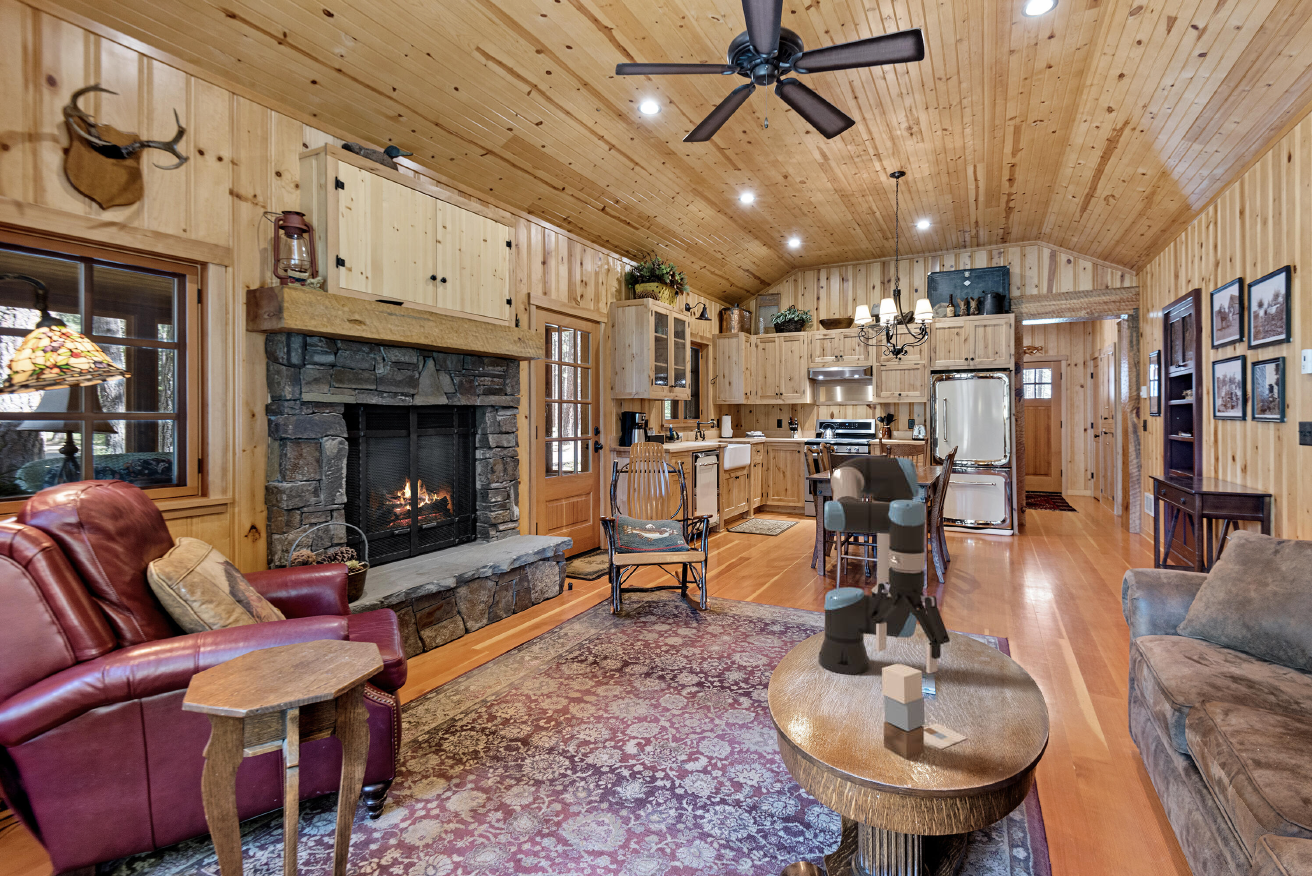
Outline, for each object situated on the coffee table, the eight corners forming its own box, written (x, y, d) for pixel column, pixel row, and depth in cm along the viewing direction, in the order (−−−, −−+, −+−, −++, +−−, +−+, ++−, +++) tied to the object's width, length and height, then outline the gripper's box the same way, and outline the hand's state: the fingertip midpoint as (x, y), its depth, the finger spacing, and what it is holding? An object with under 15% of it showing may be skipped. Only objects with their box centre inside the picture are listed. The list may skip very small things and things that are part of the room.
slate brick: (884, 720, 137) (884, 694, 137) (901, 714, 140) (900, 688, 140) (907, 731, 132) (907, 704, 132) (924, 724, 135) (924, 697, 135)
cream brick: (882, 694, 137) (882, 668, 137) (900, 688, 140) (899, 663, 140) (904, 704, 132) (904, 677, 132) (922, 698, 135) (921, 671, 135)
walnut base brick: (883, 747, 137) (884, 719, 137) (901, 740, 140) (901, 713, 140) (906, 760, 132) (906, 731, 132) (923, 752, 135) (923, 724, 135)
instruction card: (910, 734, 143) (910, 732, 143) (936, 723, 148) (936, 722, 148) (940, 749, 136) (940, 748, 136) (967, 738, 141) (967, 737, 141)
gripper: (852, 559, 144) (851, 645, 145) (945, 584, 123) (944, 685, 123) (873, 555, 148) (873, 639, 149) (968, 579, 126) (966, 677, 127)
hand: (905, 660), depth 136 cm, fingers open, 13 cm apart
